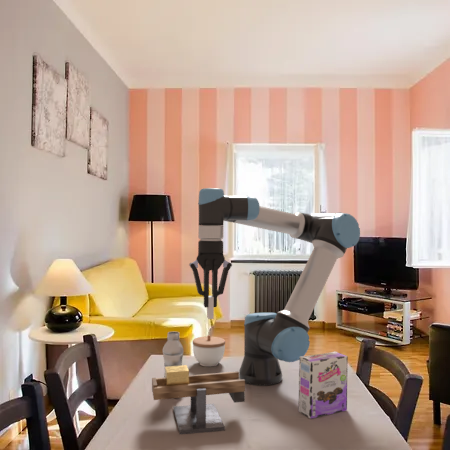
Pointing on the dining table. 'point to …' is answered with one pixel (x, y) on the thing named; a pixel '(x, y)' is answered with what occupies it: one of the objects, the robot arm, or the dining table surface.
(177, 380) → the block
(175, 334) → the plastic bottle
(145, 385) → the dining table surface
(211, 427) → the pivot stand
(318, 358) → the candy box
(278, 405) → the dining table surface
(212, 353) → the lidded bowl
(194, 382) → the beam
